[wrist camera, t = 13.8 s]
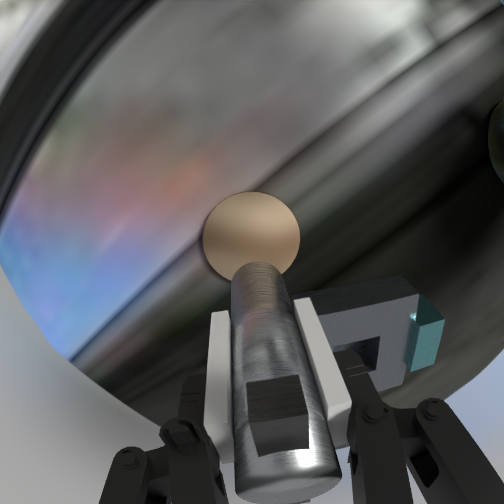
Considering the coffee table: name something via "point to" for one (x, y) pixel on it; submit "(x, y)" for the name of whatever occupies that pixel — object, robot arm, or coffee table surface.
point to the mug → (497, 139)
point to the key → (275, 397)
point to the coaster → (250, 233)
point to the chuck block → (379, 325)
